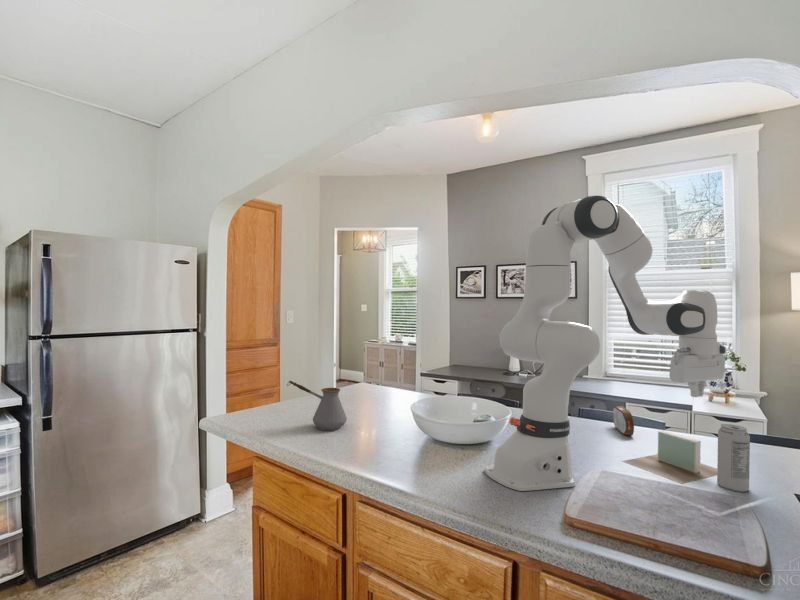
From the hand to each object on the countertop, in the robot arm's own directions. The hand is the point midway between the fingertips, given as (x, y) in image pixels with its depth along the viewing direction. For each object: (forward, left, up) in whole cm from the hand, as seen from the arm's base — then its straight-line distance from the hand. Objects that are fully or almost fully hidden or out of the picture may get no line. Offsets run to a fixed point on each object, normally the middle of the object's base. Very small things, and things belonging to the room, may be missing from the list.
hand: (696, 396), depth 117 cm
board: (-10, 0, -19) cm, 21 cm away
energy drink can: (-10, -14, -19) cm, 26 cm away
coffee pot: (-90, +71, -19) cm, 116 cm away
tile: (-8, 0, -18) cm, 20 cm away
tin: (+9, +29, -19) cm, 36 cm away
